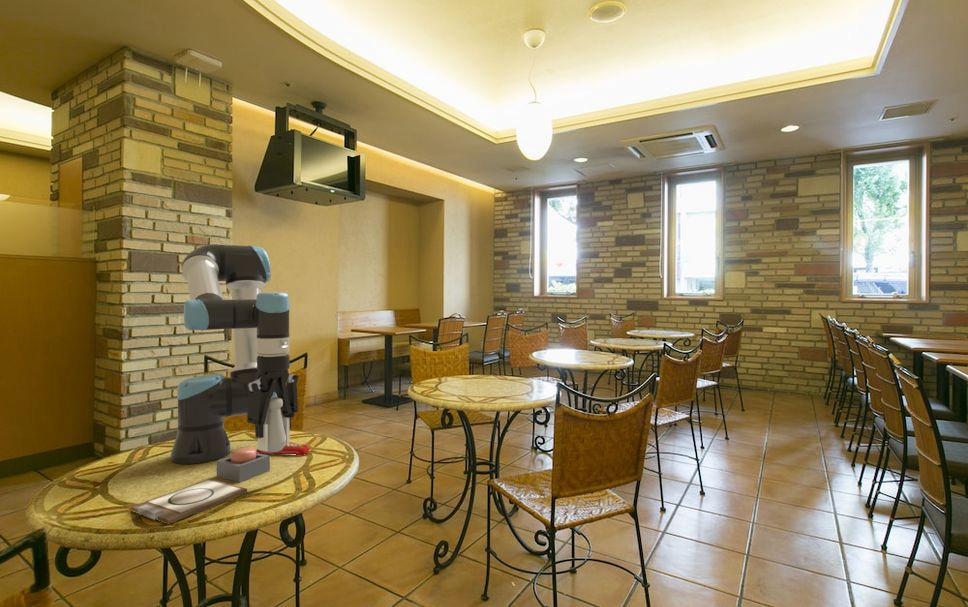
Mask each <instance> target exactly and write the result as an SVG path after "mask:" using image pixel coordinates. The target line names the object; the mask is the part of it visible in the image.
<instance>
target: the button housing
mask: <svg viewBox="0 0 968 607" xmlns="http://www.w3.org/2000/svg"><path fill="white" fill-rule="evenodd" d="M270 462H271V456H270V455H267V454H259V453H258V452H256V459H254V460H251V461H249V462H246V463H243V464H237V463H233V462H231V456H228V457H223V458H222V459H221V458H220V459H217V460H216V477H217V476H218V477H219V478H221V477H222V479H226V480H229V481H230V480H231V481H233V482H238V483H242V482H244V481H247V480H249V479H252V478H255V477H257V476H260V475H262V473H263V474H265V473H267V471H268V472H270V471H271V463H270ZM269 470H270V471H269ZM264 472H265V473H264ZM259 474H260V475H259Z"/></svg>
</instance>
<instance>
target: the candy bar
mask: <svg viewBox="0 0 968 607" xmlns="http://www.w3.org/2000/svg"><path fill="white" fill-rule="evenodd" d="M309 451H311V448H310V447H309V446H308V445H307V444H305V443H288V444H286V443H285V445H284V447H283V449H282V450H280V451H278V452H270V453H269V452H266V451H261V450H258V448H257V449H256V453H259V454H263V455H267V454H296V455H295V456H298V455H302V456H305V455H307V454H308V453H309ZM304 454H305V455H304Z"/></svg>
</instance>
